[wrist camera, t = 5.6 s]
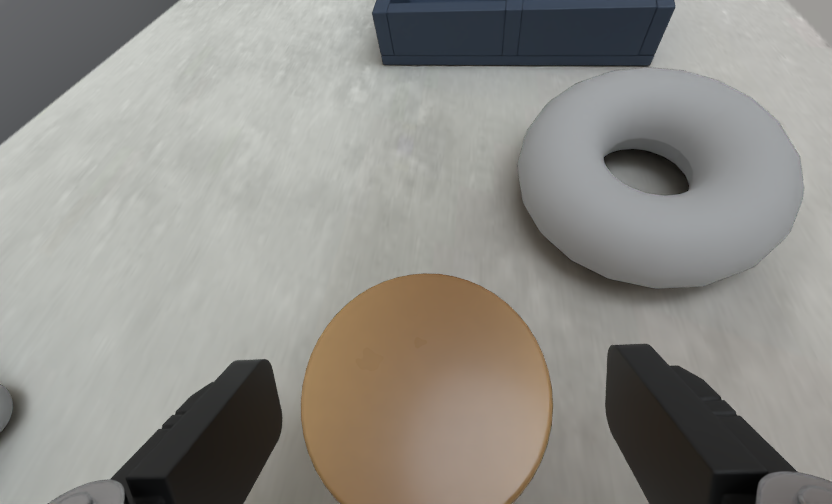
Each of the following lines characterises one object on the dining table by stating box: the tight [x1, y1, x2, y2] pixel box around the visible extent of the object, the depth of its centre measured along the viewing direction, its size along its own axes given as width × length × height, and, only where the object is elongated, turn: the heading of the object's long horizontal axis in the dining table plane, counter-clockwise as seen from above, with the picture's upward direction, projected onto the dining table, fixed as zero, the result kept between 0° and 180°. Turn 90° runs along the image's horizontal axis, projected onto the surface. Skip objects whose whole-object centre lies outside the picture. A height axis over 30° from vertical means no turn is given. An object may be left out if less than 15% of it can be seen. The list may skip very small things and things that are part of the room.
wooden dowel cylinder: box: [301, 274, 553, 504], centre depth 11 cm, size 4×4×8 cm
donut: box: [517, 67, 804, 289], centre depth 16 cm, size 10×4×10 cm
